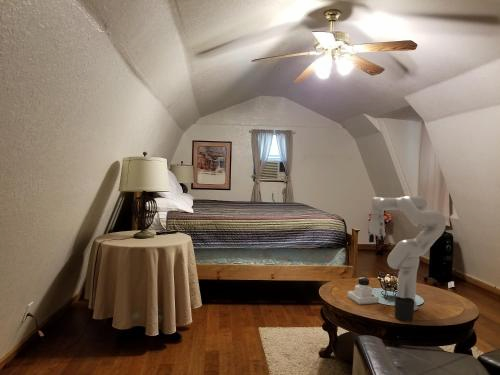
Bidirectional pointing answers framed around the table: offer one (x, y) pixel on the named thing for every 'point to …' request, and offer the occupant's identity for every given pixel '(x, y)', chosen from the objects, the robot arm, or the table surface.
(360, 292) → the medicine bottle
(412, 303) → the pen holder
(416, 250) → the robot arm
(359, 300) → the tray
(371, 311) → the table surface
